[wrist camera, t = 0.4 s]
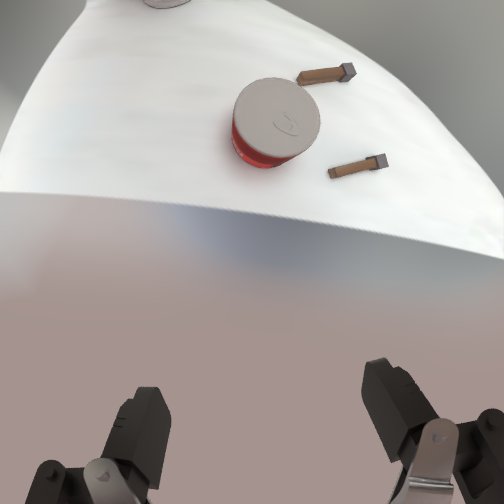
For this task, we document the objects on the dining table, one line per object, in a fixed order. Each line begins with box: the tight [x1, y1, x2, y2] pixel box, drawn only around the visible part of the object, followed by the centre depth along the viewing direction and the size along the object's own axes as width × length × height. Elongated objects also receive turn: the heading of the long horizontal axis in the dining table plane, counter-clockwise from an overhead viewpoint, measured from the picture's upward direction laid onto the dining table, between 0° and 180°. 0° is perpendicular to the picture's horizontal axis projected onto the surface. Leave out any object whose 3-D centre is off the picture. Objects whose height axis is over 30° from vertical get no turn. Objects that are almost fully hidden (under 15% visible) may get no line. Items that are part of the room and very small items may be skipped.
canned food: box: [232, 78, 320, 168], centre depth 28 cm, size 8×8×11 cm
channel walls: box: [297, 67, 377, 178], centre depth 32 cm, size 14×6×2 cm, turn 18°
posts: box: [339, 63, 389, 170], centre depth 32 cm, size 15×2×3 cm, turn 18°
